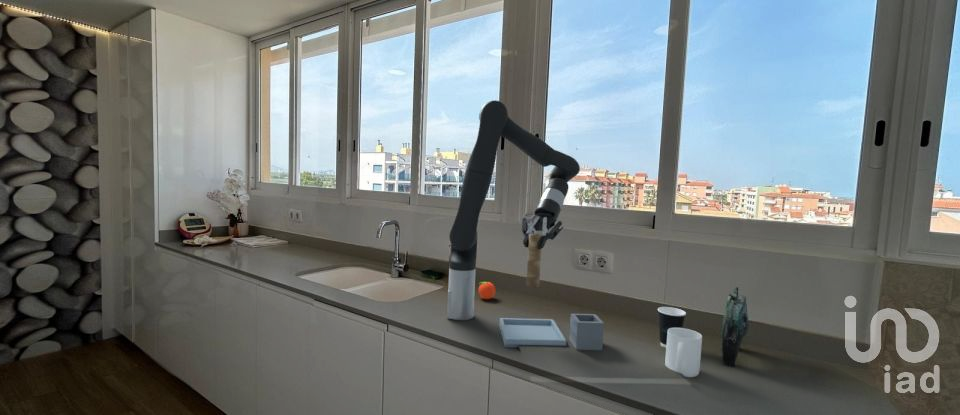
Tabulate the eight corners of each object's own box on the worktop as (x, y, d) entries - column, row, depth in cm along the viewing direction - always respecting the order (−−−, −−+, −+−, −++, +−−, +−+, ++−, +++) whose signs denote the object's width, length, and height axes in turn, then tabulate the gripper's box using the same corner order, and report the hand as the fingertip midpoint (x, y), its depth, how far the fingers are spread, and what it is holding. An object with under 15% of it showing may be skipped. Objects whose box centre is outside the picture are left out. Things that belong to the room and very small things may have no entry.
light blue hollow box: (575, 353, 120) (577, 322, 119) (569, 342, 127) (570, 313, 127) (601, 353, 120) (603, 323, 120) (593, 343, 128) (595, 314, 127)
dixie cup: (662, 350, 124) (665, 314, 123) (650, 340, 132) (653, 306, 131) (688, 351, 124) (691, 315, 123) (675, 341, 132) (677, 307, 131)
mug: (695, 387, 103) (698, 346, 102) (659, 377, 107) (662, 337, 106) (700, 369, 112) (704, 332, 112) (667, 361, 117) (670, 325, 116)
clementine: (474, 300, 167) (474, 282, 166) (477, 295, 173) (477, 278, 173) (493, 302, 165) (494, 284, 165) (496, 297, 172) (496, 280, 172)
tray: (504, 347, 122) (505, 339, 122) (499, 325, 140) (499, 318, 139) (565, 348, 123) (566, 340, 122) (552, 326, 140) (553, 319, 140)
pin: (527, 287, 128) (529, 235, 127) (525, 283, 132) (527, 233, 131) (540, 287, 128) (543, 235, 127) (538, 284, 132) (540, 233, 131)
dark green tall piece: (723, 342, 133) (728, 280, 131) (747, 348, 129) (753, 284, 127) (715, 363, 117) (721, 293, 115) (742, 370, 113) (749, 298, 111)
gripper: (527, 196, 138) (507, 236, 129) (568, 199, 130) (550, 241, 121) (533, 211, 143) (515, 251, 134) (573, 215, 135) (556, 257, 126)
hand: (532, 246), depth 127 cm, fingers closed on pin, 4 cm apart
